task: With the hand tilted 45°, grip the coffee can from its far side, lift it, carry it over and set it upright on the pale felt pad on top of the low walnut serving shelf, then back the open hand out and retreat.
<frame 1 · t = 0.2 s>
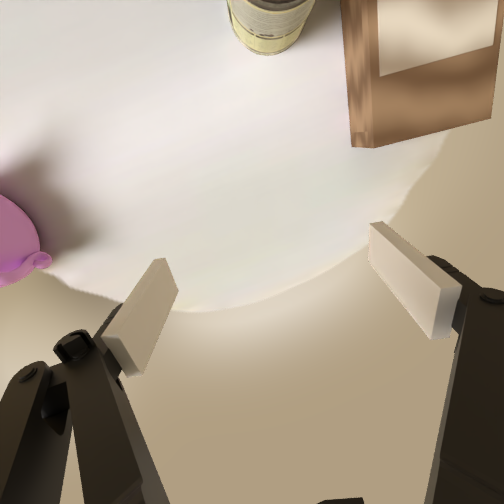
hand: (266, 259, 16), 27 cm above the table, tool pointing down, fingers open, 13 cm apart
teapot: (0, 218, 43), on the table
coffee can: (267, 8, 32), on the table
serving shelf: (397, 18, 32), on the table
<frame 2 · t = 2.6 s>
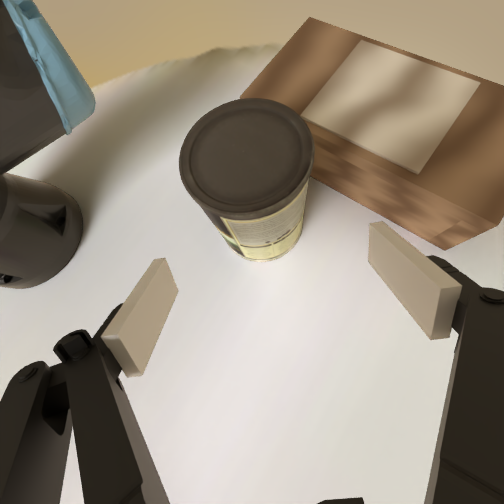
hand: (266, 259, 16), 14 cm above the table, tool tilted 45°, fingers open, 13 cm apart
coffee can: (262, 224, 32), on the table
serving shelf: (364, 150, 33), on the table
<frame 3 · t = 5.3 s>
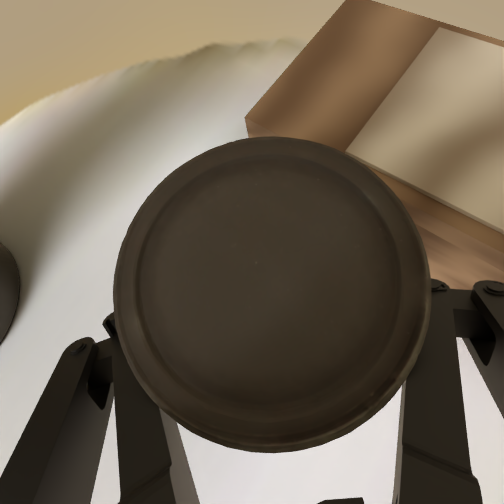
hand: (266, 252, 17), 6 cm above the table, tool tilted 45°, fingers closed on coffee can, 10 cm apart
coffee can: (276, 303, 22), on the table, touching gripper
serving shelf: (428, 192, 22), on the table
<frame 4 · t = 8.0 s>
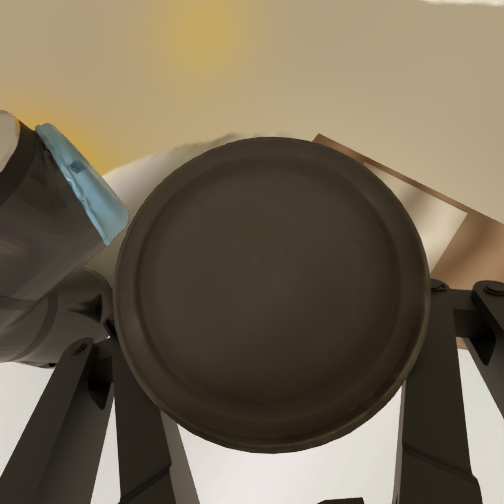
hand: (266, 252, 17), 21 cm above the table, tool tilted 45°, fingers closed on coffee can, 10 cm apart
coffee can: (276, 304, 22), point 15 cm above the table, touching gripper
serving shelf: (367, 244, 37), on the table
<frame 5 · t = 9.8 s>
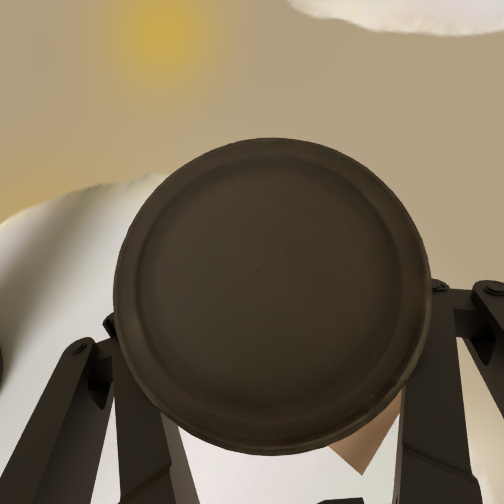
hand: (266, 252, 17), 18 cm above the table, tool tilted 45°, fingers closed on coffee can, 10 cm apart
coffee can: (276, 304, 22), point 12 cm above the table, touching gripper
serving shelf: (278, 310, 33), on the table
when the fingers open (15 cm above the table, at t = 10.9 s): coffee can drops 2 cm, resting on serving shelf.
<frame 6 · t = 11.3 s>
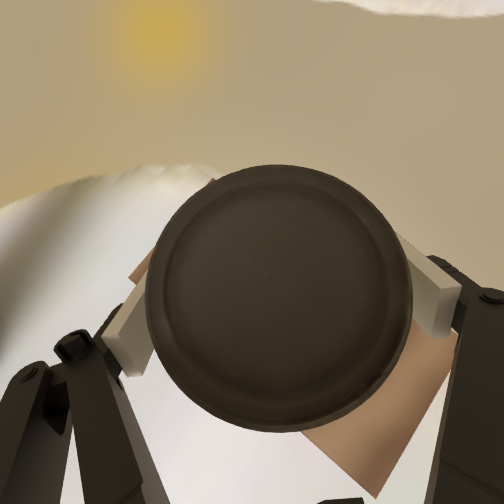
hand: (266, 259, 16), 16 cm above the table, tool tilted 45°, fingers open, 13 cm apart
coffee can: (279, 306, 23), point 8 cm above the table, touching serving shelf
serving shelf: (279, 310, 31), on the table
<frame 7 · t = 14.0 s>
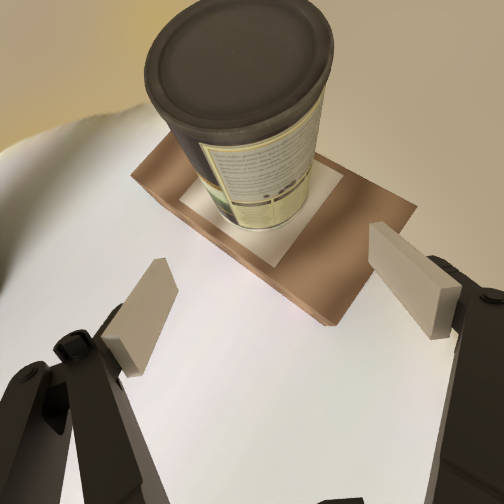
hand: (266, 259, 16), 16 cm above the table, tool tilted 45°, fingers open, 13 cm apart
coffee can: (260, 189, 27), point 8 cm above the table, touching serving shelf
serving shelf: (264, 217, 34), on the table
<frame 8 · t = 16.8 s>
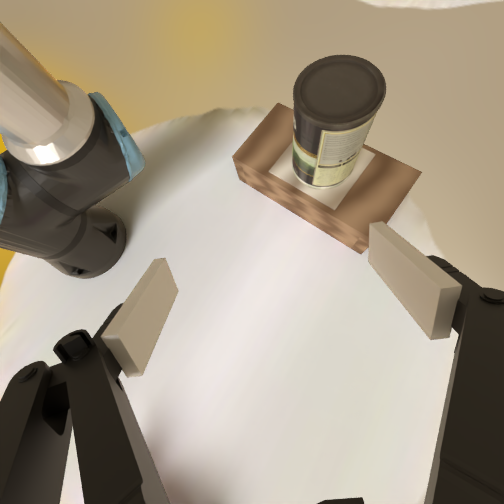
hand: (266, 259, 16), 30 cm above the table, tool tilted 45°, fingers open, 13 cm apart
coffee can: (322, 163, 43), point 8 cm above the table, touching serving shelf
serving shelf: (316, 187, 50), on the table
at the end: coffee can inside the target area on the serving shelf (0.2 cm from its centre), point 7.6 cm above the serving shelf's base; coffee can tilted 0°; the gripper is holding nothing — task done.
